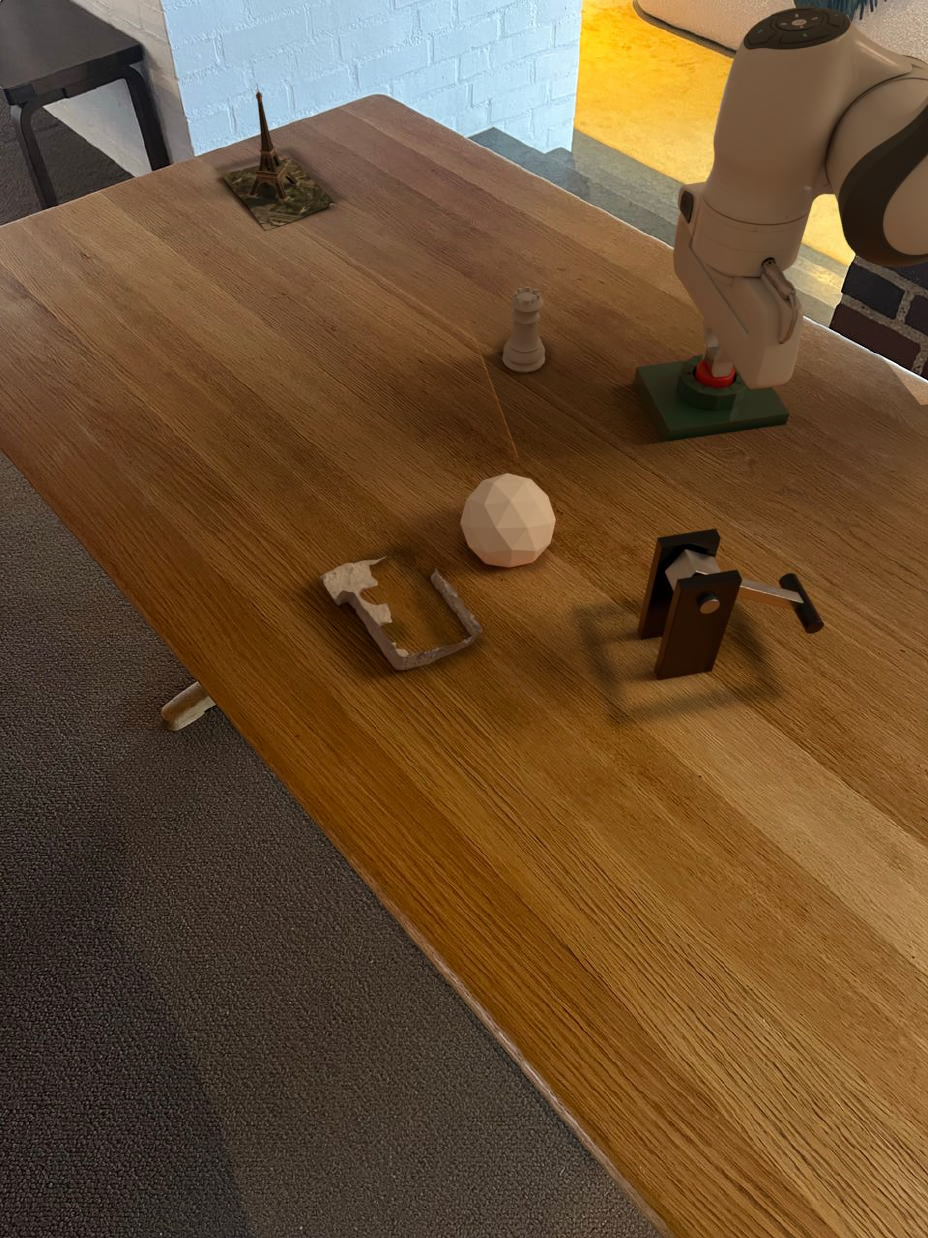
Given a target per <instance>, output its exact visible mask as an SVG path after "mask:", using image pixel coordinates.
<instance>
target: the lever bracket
mask: <svg viewBox="0 0 928 1238" xmlns="http://www.w3.org/2000/svg"><path fill="white" fill-rule="evenodd" d="M721 539H722V537H721V535H720V533H719V531H718V529H717V528H710V529H703V530H698V531H691V532H690V531H689V532H685V533H678V534H671V535H664V536H658V537H657V538H656V543H655V548H654V552H653V556H652V560H651V564H650V565H651V566H650V571H649V574H648V580H647V584H646V589H645V593H644V598H643V602H642V607H641V611H640V616H639V620H638V625H637V629H636V631H637V635H638V636H639V639H640V640H641V641H643V640H644V641H645V640H649V639H650V640H651V639H656V638H661V640H660V644H659V648H658V653H657V657H656V660H655V665H654V668H653V673H654V675H655V677H656V680H657V681H663V680H669V679H675V678H680V677H687V676H691V675H692V676H693V675H697V674H698V675H699V674H703V673H708V672H712V671H713V669H714V666H715V663H716V661H717V657H718V654H719V651H720V649H721V645H722V642H723V641H724V636H725V634H726V630H727V627H728V625H729V621H730V619H731V615H732V613H733V610H734V606H735V604H736V600H737V597H738V596H737V595H738V592H739V589H740V586H741V583H742V578H743V577H742V576H741V574H740V572H739V570H738V569H732V570H726V571H721V572H719V573H713V574H707V575H701V576H694V577H688V578H682V579H677V582H676V586H675V589H674V591H673V588H672V586H671V584H670V582H669V580H668V577H667V575H666V573H665V571H666V570H667V568H668V567H669V566H670V565H671V564H672V563H673V562H674V561H675V560H676V559H677V558H678V556H679V555H680V554H681V553H682V552H683V551H684V550H685V549H686V550H690V551H694V552H697V553H701V554H704V555H708V556H712V557H714V558H715V559H716V556H717V553H718V549H719V546H720V542H721Z"/></svg>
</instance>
